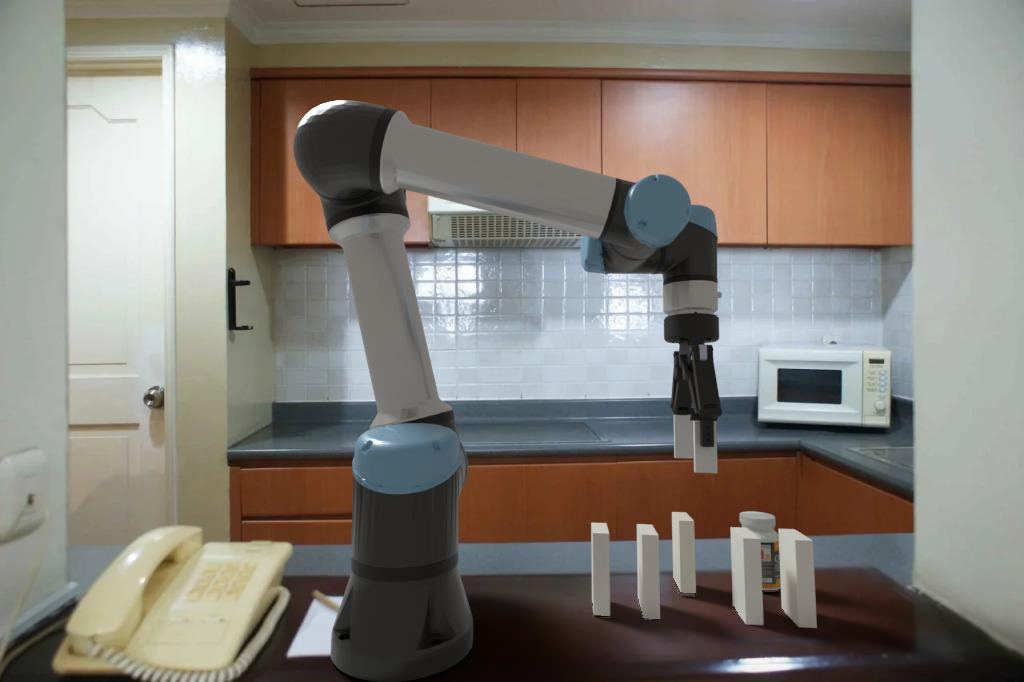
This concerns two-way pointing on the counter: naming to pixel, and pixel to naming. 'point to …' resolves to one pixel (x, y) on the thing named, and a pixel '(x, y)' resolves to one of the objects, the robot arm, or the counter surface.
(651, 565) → the domino
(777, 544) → the pill bottle
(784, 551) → the domino
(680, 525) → the domino
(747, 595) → the domino
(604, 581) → the domino
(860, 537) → the counter surface
